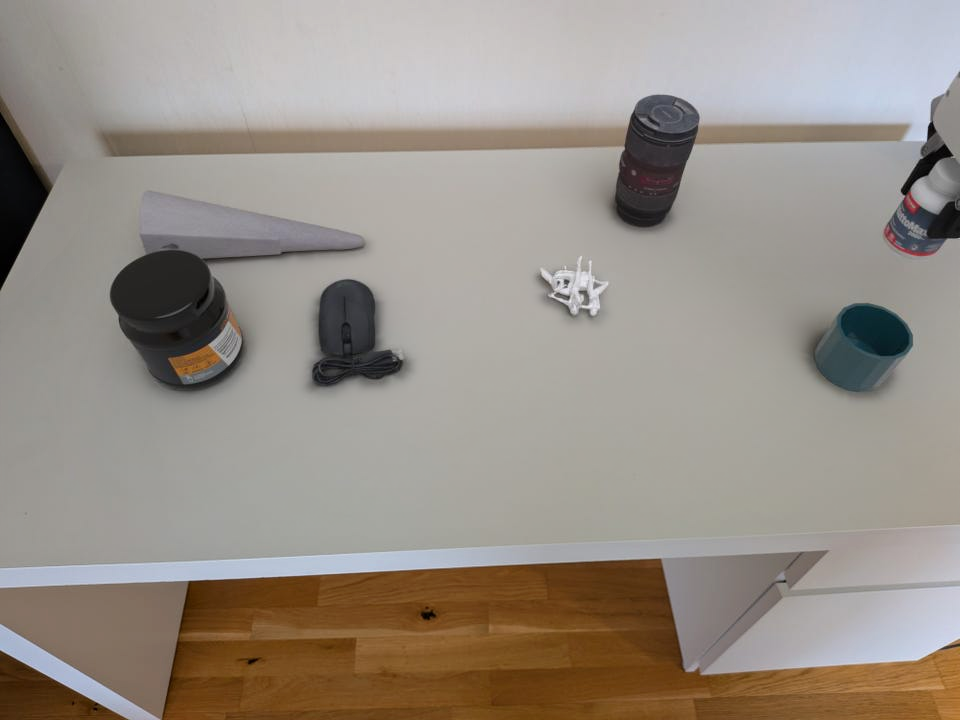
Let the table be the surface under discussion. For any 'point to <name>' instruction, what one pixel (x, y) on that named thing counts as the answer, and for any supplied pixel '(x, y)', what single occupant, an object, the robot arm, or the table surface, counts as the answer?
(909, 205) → the pill bottle
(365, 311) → the computer mouse
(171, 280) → the supplement container
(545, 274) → the figurine
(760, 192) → the table surface
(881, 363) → the cup
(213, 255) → the tapered wedge
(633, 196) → the camera lens
